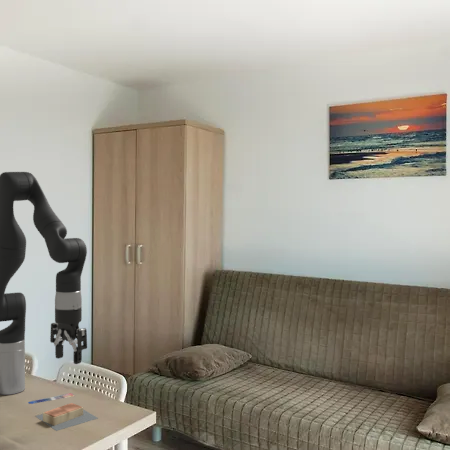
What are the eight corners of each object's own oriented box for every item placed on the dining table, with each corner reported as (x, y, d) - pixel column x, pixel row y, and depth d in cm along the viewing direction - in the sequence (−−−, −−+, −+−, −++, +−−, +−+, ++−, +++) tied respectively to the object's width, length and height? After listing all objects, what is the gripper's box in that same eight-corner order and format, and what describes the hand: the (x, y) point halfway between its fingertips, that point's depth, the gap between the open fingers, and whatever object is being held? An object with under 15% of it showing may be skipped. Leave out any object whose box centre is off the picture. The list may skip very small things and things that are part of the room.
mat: (35, 417, 155) (35, 415, 155) (75, 406, 163) (75, 404, 163) (56, 432, 144) (56, 430, 144) (98, 420, 153) (98, 418, 153)
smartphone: (80, 399, 169) (32, 409, 160) (80, 402, 169) (32, 412, 160) (71, 392, 175) (25, 401, 166) (71, 395, 175) (25, 404, 166)
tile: (72, 410, 159) (42, 420, 151) (71, 402, 159) (42, 412, 151) (83, 414, 156) (54, 425, 148) (83, 406, 155) (54, 417, 148)
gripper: (42, 304, 155) (42, 359, 155) (72, 311, 146) (72, 368, 147) (64, 301, 161) (64, 353, 161) (94, 307, 152) (94, 362, 153)
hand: (68, 360), depth 154 cm, fingers open, 8 cm apart
